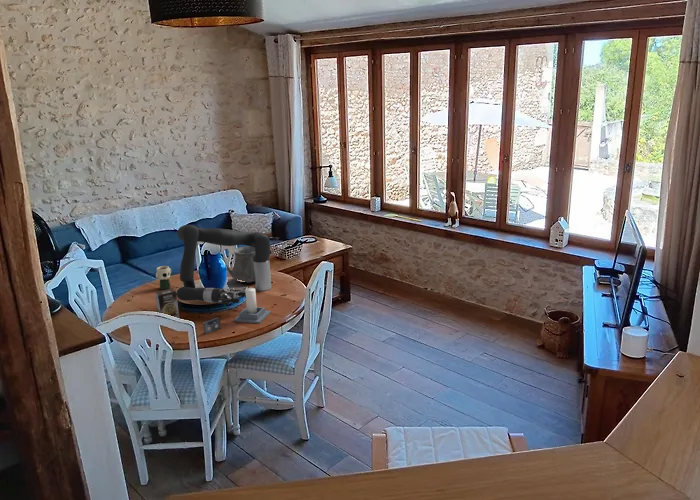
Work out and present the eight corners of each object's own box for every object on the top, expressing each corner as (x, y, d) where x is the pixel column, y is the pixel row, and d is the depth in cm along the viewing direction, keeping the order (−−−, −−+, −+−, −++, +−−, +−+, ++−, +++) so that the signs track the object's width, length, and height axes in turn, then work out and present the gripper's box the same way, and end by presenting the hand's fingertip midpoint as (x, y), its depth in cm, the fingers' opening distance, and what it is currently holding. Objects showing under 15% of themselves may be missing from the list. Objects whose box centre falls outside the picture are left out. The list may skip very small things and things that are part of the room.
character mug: (162, 292, 319) (159, 271, 315) (154, 290, 322) (151, 269, 319) (176, 286, 328) (174, 265, 324) (168, 284, 331) (166, 264, 328)
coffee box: (162, 325, 273) (158, 295, 269) (158, 321, 278) (154, 291, 274) (180, 320, 279) (176, 291, 274) (175, 316, 284) (172, 287, 279)
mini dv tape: (219, 328, 269) (218, 316, 267) (220, 329, 268) (219, 317, 266) (204, 333, 263) (202, 321, 262) (205, 334, 262) (204, 322, 261)
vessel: (273, 275, 343) (271, 244, 337) (257, 287, 322) (254, 255, 317) (242, 272, 349) (239, 242, 343) (224, 284, 329) (221, 252, 323)
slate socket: (246, 310, 289) (245, 304, 288) (270, 312, 285) (270, 306, 284) (234, 321, 276) (233, 314, 275) (259, 323, 273) (259, 317, 272)
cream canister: (250, 312, 283) (247, 287, 280) (258, 313, 282) (256, 288, 278) (245, 316, 279) (243, 290, 275) (254, 317, 278) (252, 291, 274)
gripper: (206, 293, 276) (235, 295, 272) (220, 283, 289) (248, 286, 285) (207, 307, 278) (236, 309, 274) (221, 297, 291) (249, 299, 287)
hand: (242, 297), depth 279 cm, fingers open, 8 cm apart
